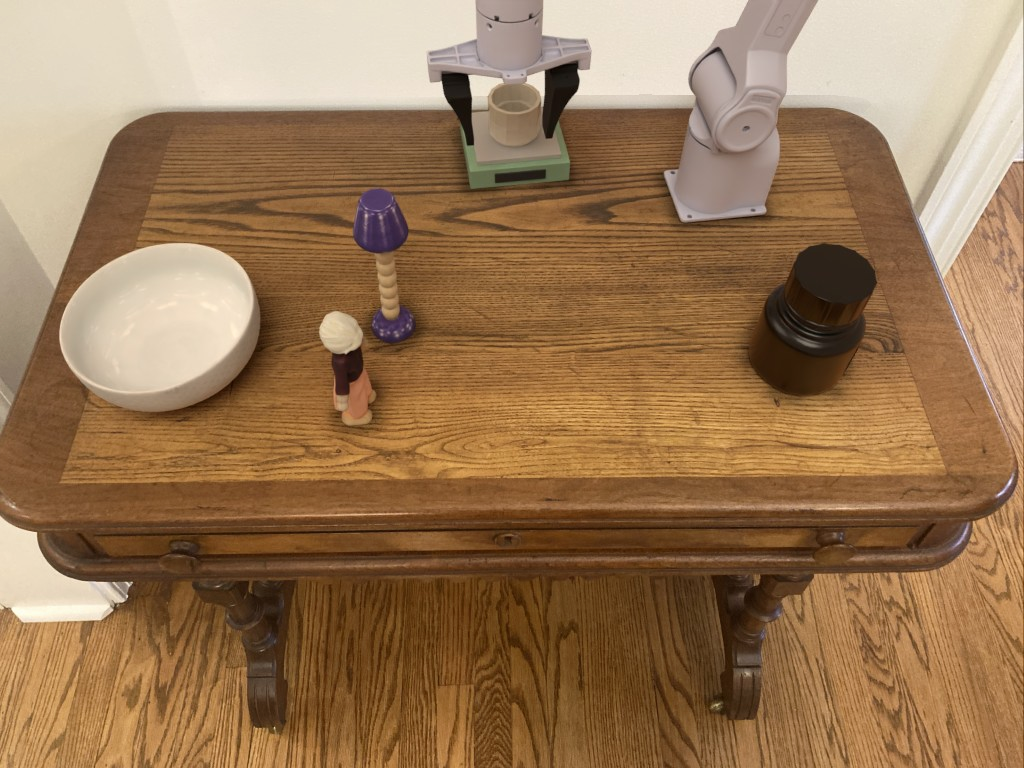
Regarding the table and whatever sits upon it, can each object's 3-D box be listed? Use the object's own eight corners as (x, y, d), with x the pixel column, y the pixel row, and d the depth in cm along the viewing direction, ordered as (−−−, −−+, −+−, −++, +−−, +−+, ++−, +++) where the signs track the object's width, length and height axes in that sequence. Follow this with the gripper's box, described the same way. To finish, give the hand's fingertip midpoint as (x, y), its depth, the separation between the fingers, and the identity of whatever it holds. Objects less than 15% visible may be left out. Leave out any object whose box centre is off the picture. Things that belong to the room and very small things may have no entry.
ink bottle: (865, 375, 80) (917, 289, 70) (795, 416, 77) (838, 333, 67) (793, 307, 84) (832, 217, 75) (725, 344, 82) (755, 256, 72)
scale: (553, 123, 101) (554, 100, 98) (569, 181, 95) (571, 159, 92) (460, 131, 100) (459, 108, 97) (470, 190, 94) (469, 168, 91)
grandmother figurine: (337, 377, 79) (312, 285, 69) (379, 374, 79) (361, 282, 69) (334, 448, 75) (307, 361, 64) (379, 445, 75) (359, 358, 64)
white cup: (534, 114, 97) (536, 79, 93) (543, 147, 93) (544, 112, 90) (485, 118, 96) (484, 83, 92) (492, 151, 93) (492, 116, 89)
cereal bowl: (110, 294, 85) (82, 244, 79) (280, 288, 85) (264, 237, 79) (69, 441, 75) (33, 395, 69) (261, 433, 75) (242, 386, 70)
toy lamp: (427, 317, 83) (413, 186, 70) (408, 353, 81) (390, 224, 67) (382, 304, 84) (359, 172, 70) (362, 339, 82) (334, 209, 68)
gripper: (427, 38, 69) (438, 169, 80) (603, 24, 70) (589, 155, 81) (420, -10, 73) (431, 122, 84) (586, -22, 74) (575, 109, 86)
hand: (508, 135), depth 83 cm, fingers open, 7 cm apart
